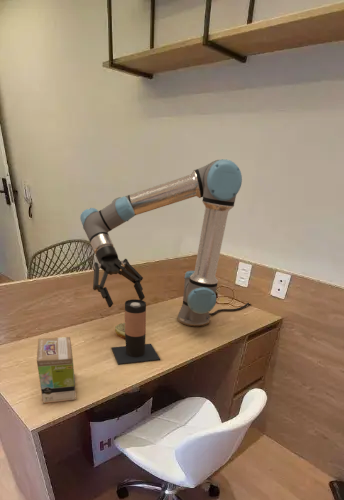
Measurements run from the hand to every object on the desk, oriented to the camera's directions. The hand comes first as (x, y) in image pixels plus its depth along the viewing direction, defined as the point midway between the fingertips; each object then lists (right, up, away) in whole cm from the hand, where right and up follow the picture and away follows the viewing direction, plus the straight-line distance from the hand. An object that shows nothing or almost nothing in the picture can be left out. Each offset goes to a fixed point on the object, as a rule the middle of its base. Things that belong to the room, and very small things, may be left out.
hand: (127, 302), depth 124 cm
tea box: (-20, -31, -15) cm, 40 cm away
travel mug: (+2, -18, +7) cm, 19 cm away
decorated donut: (-3, -9, +21) cm, 23 cm away
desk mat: (+2, -18, +7) cm, 20 cm away
